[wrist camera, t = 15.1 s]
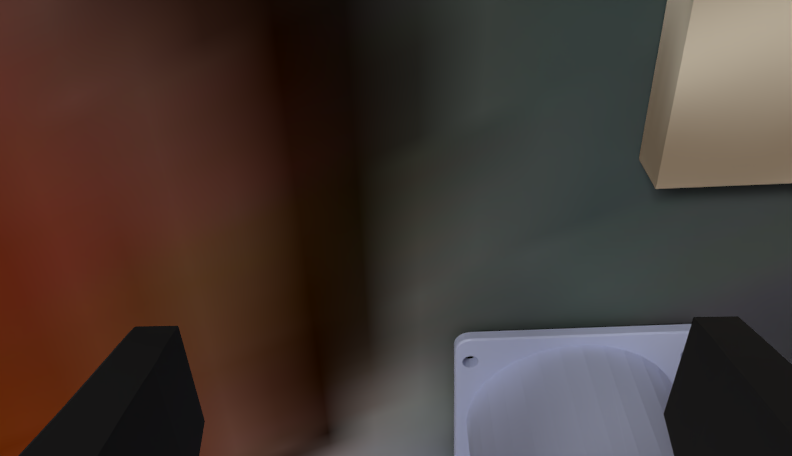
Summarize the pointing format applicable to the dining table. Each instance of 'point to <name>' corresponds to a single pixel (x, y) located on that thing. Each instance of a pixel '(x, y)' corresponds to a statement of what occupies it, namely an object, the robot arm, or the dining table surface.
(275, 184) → the dining table surface
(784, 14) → the board
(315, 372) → the dining table surface
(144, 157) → the dining table surface
